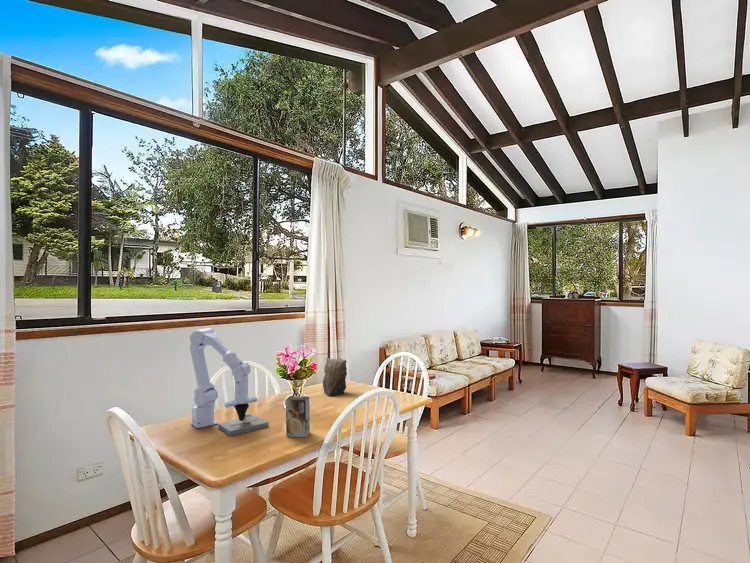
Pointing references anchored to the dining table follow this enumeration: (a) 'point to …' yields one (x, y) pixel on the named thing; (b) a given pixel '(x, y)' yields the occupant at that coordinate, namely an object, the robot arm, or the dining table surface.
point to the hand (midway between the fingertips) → (241, 420)
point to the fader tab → (247, 417)
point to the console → (242, 426)
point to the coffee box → (297, 416)
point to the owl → (334, 377)
